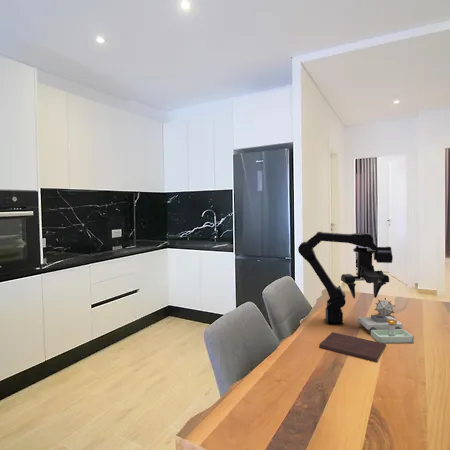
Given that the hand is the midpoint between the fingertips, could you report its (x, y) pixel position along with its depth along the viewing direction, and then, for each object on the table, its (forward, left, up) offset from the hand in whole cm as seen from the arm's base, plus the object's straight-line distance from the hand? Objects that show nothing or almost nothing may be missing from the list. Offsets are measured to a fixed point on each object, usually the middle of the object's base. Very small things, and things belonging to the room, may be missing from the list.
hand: (364, 297), depth 140 cm
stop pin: (+4, -15, -11) cm, 19 cm away
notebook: (-14, -21, -13) cm, 28 cm away
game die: (+14, +10, -12) cm, 21 cm away
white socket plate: (+4, -5, -12) cm, 14 cm away
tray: (+4, -15, -12) cm, 20 cm away
